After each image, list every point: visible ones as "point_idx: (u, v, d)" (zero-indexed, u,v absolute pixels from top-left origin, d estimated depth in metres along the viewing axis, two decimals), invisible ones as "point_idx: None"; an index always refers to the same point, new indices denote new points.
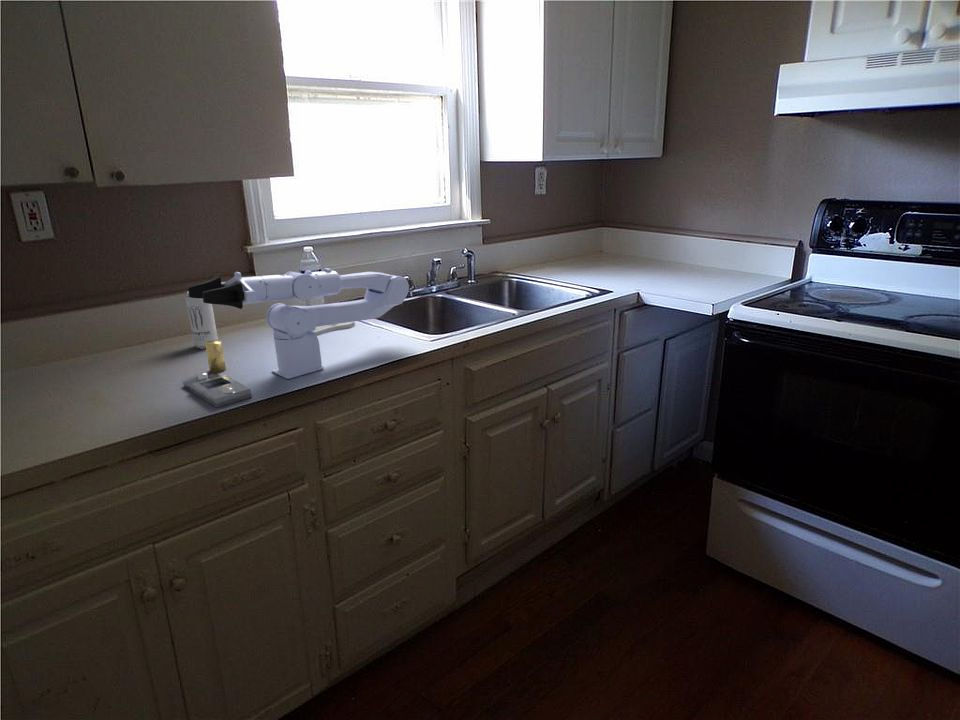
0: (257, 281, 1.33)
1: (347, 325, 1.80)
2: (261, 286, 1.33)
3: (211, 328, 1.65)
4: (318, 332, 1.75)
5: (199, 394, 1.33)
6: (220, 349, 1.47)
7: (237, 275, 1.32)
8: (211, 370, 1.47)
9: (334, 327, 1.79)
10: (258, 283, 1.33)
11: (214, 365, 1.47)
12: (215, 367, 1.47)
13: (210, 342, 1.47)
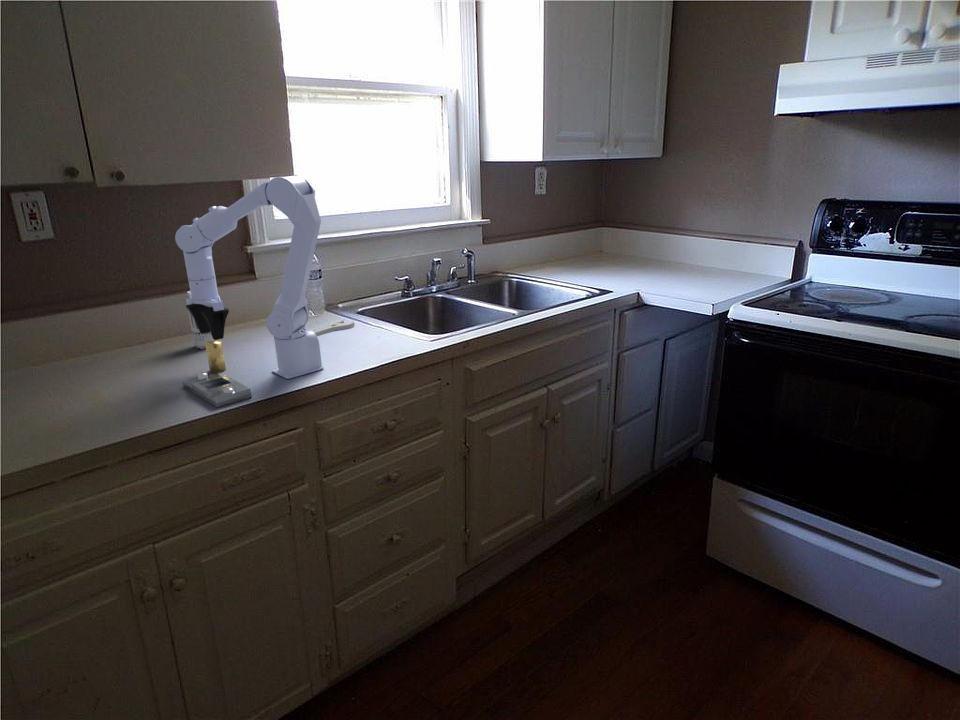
0: (196, 286, 1.39)
1: (347, 325, 1.80)
2: (202, 284, 1.40)
3: None
4: (318, 333, 1.74)
5: (199, 394, 1.33)
6: (220, 349, 1.47)
7: None
8: (211, 370, 1.47)
9: (334, 327, 1.78)
10: (199, 286, 1.40)
11: (214, 365, 1.47)
12: (215, 367, 1.47)
13: (210, 342, 1.47)
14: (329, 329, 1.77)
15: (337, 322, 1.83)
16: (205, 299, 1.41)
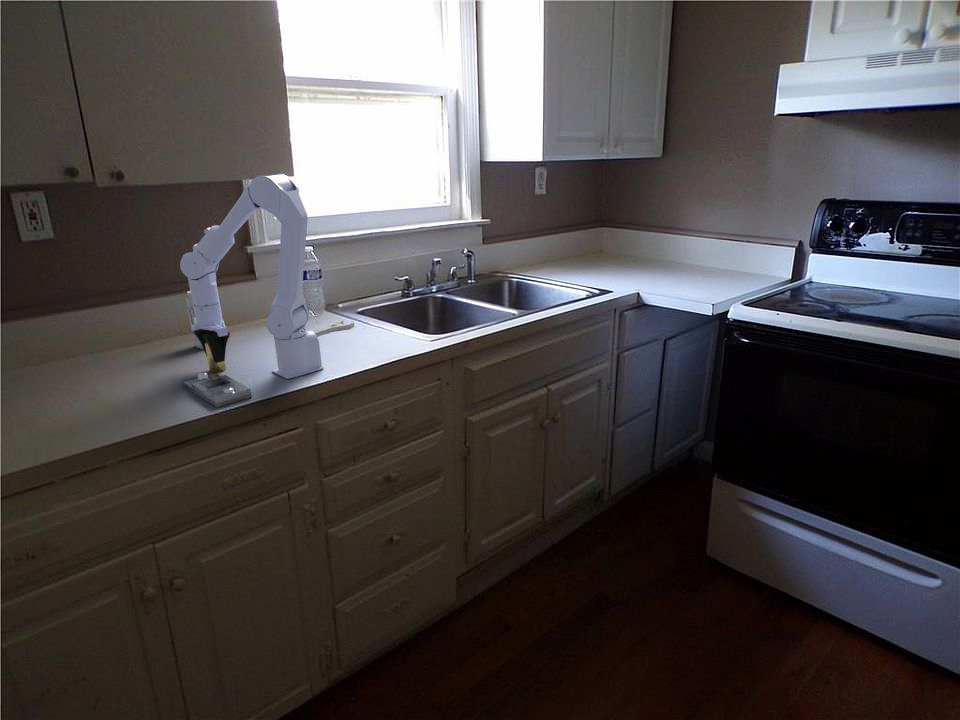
0: (201, 312, 1.41)
1: (347, 326, 1.80)
2: (207, 310, 1.41)
3: None
4: (318, 333, 1.74)
5: (199, 394, 1.33)
6: None
7: None
8: (211, 370, 1.47)
9: (334, 328, 1.78)
10: (204, 312, 1.41)
11: (214, 365, 1.47)
12: (215, 367, 1.47)
13: None
14: (329, 329, 1.77)
15: (337, 322, 1.82)
16: (209, 324, 1.43)
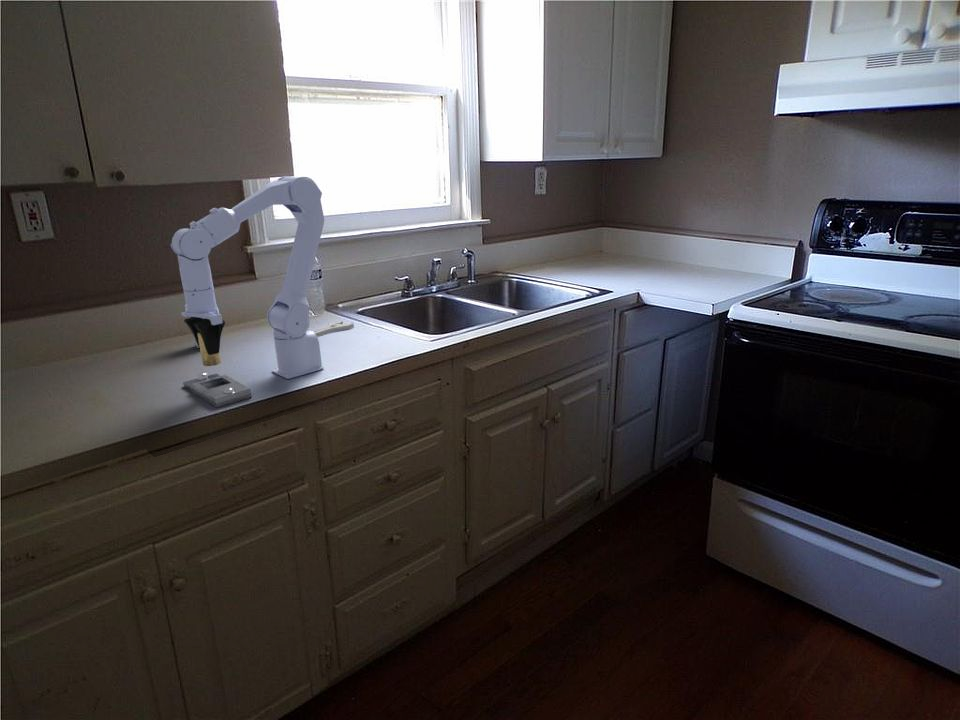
0: (192, 298, 1.26)
1: (346, 326, 1.79)
2: (199, 295, 1.26)
3: None
4: (317, 333, 1.73)
5: (199, 394, 1.33)
6: None
7: None
8: (205, 363, 1.31)
9: (333, 328, 1.77)
10: (195, 298, 1.26)
11: (209, 357, 1.31)
12: (210, 359, 1.31)
13: None
14: (328, 330, 1.76)
15: (336, 323, 1.82)
16: (202, 311, 1.27)
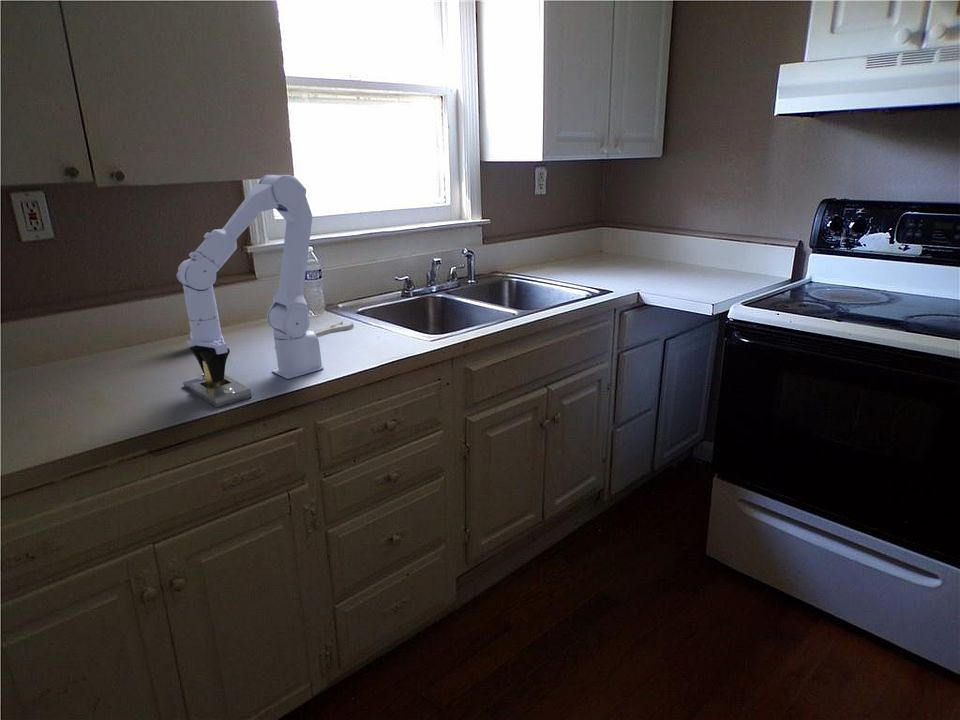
0: (198, 327, 1.28)
1: (346, 327, 1.79)
2: (204, 324, 1.28)
3: None
4: (317, 334, 1.73)
5: (199, 394, 1.33)
6: None
7: None
8: None
9: (333, 329, 1.77)
10: (201, 327, 1.28)
11: (213, 384, 1.33)
12: (215, 386, 1.33)
13: None
14: (328, 330, 1.76)
15: (336, 323, 1.81)
16: (207, 340, 1.29)
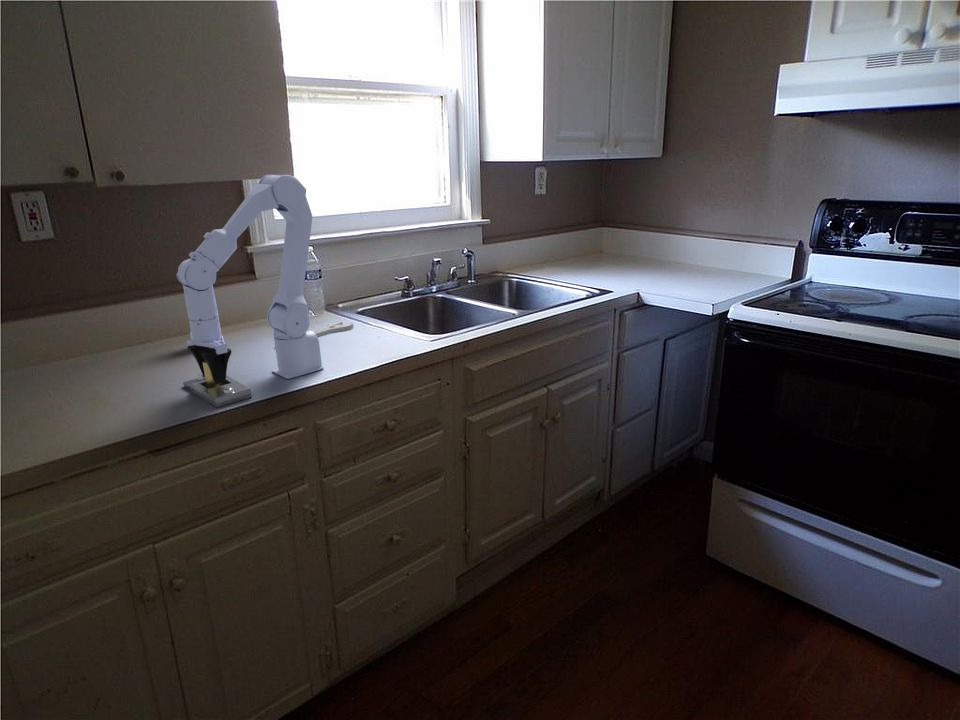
0: (198, 327, 1.28)
1: (346, 327, 1.78)
2: (204, 324, 1.28)
3: None
4: (317, 334, 1.73)
5: (199, 394, 1.33)
6: None
7: None
8: None
9: (333, 329, 1.77)
10: (200, 327, 1.28)
11: (214, 386, 1.33)
12: None
13: None
14: (328, 331, 1.76)
15: (336, 324, 1.81)
16: (207, 340, 1.29)
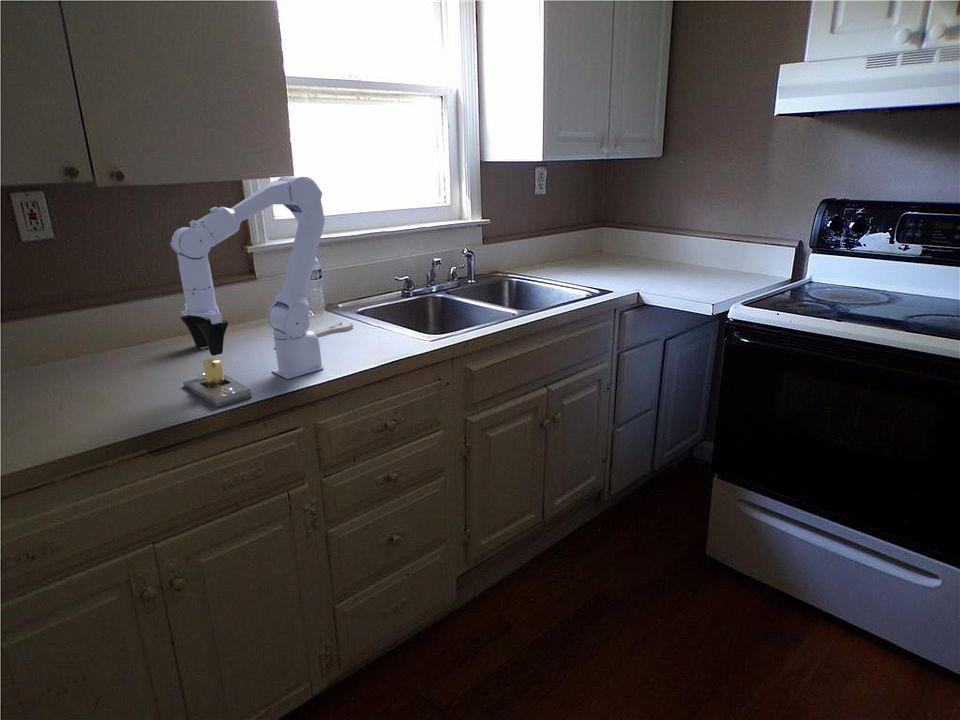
0: (192, 296, 1.26)
1: (345, 328, 1.78)
2: (198, 294, 1.26)
3: None
4: (316, 335, 1.72)
5: (199, 394, 1.33)
6: (220, 369, 1.33)
7: None
8: None
9: (332, 330, 1.76)
10: (195, 296, 1.26)
11: (214, 386, 1.33)
12: None
13: (208, 361, 1.33)
14: (327, 331, 1.75)
15: (335, 324, 1.80)
16: (202, 310, 1.27)
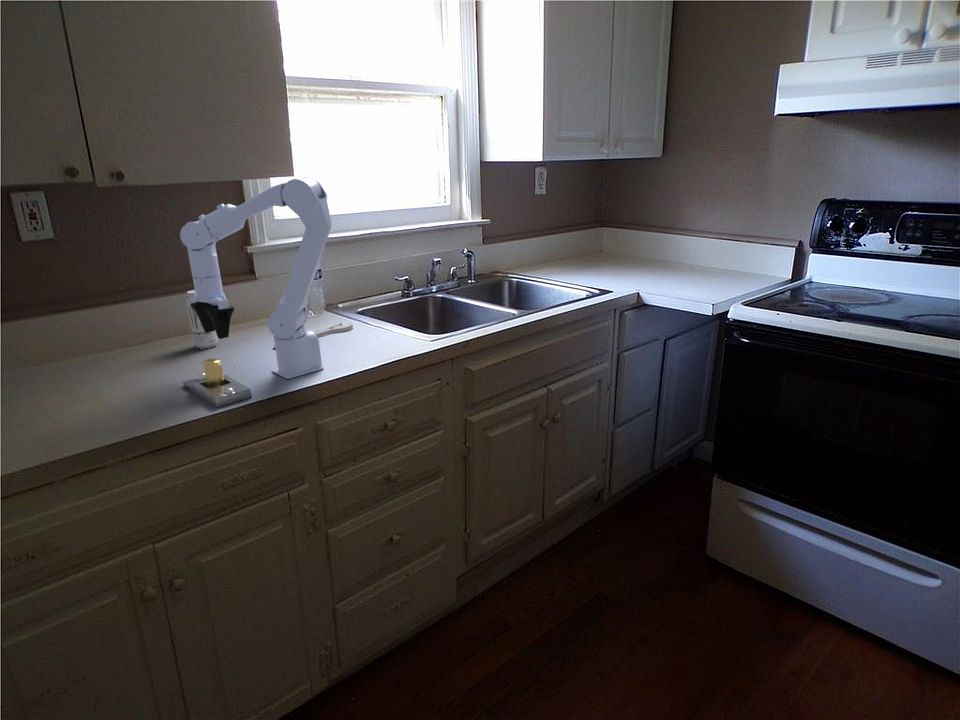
0: (201, 284, 1.37)
1: (345, 328, 1.77)
2: (207, 282, 1.37)
3: None
4: None
5: (199, 394, 1.33)
6: (220, 369, 1.33)
7: None
8: None
9: (332, 330, 1.76)
10: (204, 284, 1.37)
11: (214, 386, 1.33)
12: None
13: (208, 361, 1.33)
14: (327, 332, 1.75)
15: (335, 325, 1.80)
16: (210, 297, 1.38)
